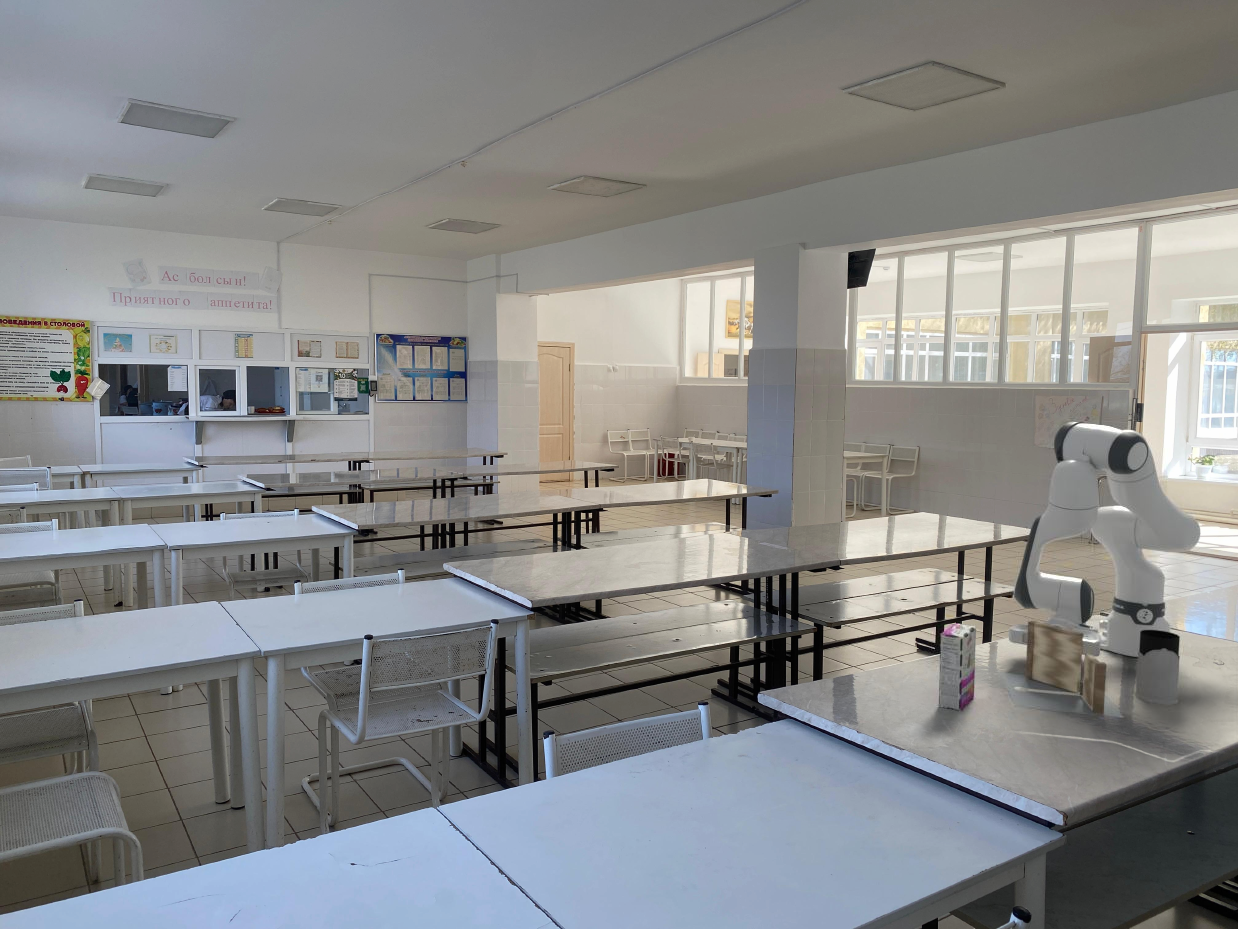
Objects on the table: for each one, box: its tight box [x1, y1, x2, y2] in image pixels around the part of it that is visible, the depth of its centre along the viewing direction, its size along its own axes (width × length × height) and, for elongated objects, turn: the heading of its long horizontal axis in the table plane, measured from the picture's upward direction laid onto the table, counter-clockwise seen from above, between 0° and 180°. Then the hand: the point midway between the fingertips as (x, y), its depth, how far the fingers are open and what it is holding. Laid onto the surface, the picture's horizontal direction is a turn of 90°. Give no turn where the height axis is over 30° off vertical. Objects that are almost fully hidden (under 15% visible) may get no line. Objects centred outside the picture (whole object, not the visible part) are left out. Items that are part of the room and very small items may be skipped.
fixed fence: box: [1080, 653, 1107, 714], centre depth 185 cm, size 13×2×11 cm, turn 165°
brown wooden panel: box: [1025, 620, 1083, 693], centre depth 197 cm, size 12×2×14 cm, turn 30°
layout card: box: [999, 671, 1125, 719], centre depth 192 cm, size 25×21×1 cm
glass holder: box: [1133, 630, 1181, 706], centre depth 192 cm, size 9×14×15 cm, turn 161°
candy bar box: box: [938, 623, 977, 712], centre depth 186 cm, size 11×5×16 cm, turn 143°
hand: (1048, 646), depth 202 cm, fingers closed
